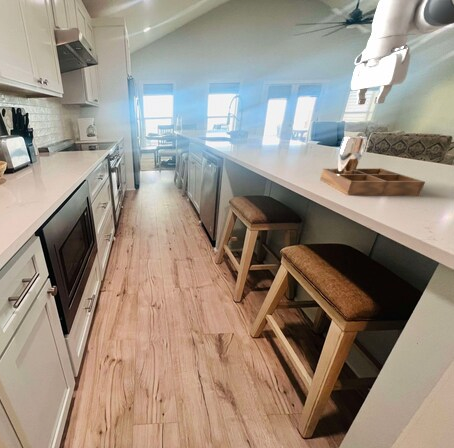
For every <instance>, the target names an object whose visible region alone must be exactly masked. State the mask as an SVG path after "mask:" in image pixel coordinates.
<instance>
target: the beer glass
mask: <svg viewBox="0 0 454 448" xmlns="http://www.w3.org/2000/svg"><path fill="white" fill-rule="evenodd" d="M367 141H368V136H361V135H345V136H343V137H342V139H341V143H340V146H339V149H338V154H337V166H336V169H337V171H336V174H354V173H355V170H356V169H358V168H357V167H358V166H359V164H360V161H361V160H362V158H363V156H364V153H365V151H366V147H367Z"/></svg>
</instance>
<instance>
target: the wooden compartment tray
mask: <svg viewBox="0 0 454 448" xmlns="http://www.w3.org/2000/svg"><path fill="white" fill-rule="evenodd" d="M336 171H337V168H322V171H321V174H320V181H322V182H323V183H325V184H327V185H328V186H331V187H332V188H334V189H335V190H337V191H340V192H341V193H343V194H345V195H346V196H400V197H401V196H404V197H405V196H407V197H408V196H409V197H411V196H413V197H415V196H416V197H419V196H420V195H421V193H422V190H423V188H424V186H425V183H426V181H424V180H420V179H417V178H414V177H411V176H408V175H404V174H400V173H398V172H394V171H390V170H388V169H384V168H382V167H381V168H380V167H379V168H376V167H375V168H374V167H373V168H372V167H371V168H356V170H355V173H354V174H336Z"/></svg>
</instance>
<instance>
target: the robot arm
mask: <svg viewBox="0 0 454 448" xmlns="http://www.w3.org/2000/svg"><path fill="white" fill-rule="evenodd" d="M452 24H454V0H379V1H378V3H377V7H376V9H375V13H374V16H373V20H372V23H371V35H370V37H369V38H368V40H367V44H366V47H365V48H364V49H363V51H362V52H361V53H360V54H359V55H358V56H356V58H355V59H354V65H355V68H354V69H353V74H352V78H351V81H350V89H351V91H356V98H357V100H356V105H357V106H361V105H362V106H363V105H365V104H366V102H367V98H366V93H367V92H368V90H369V89H375V88H379V93H378V95H377V97H376V96H375V99H374V101H373V102H374V104H384V103H385V101H386V97H387V96H388V95H389V93H390V92H391V90H392V88H393V86H395V85H401V84H403V82H404V81H405V80H406V78H407V74H408V70H409V66H410V62H411V54H410V51H411V49H410V48H409V46H408V44H407V42H408V38H409V35H412V36H413V35H417V36H419V35H421V36H423V35H428V34H431V33H434V32H436V31H439V30H441V29H443V28H445V27H447V26H449V25H452Z"/></svg>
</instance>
